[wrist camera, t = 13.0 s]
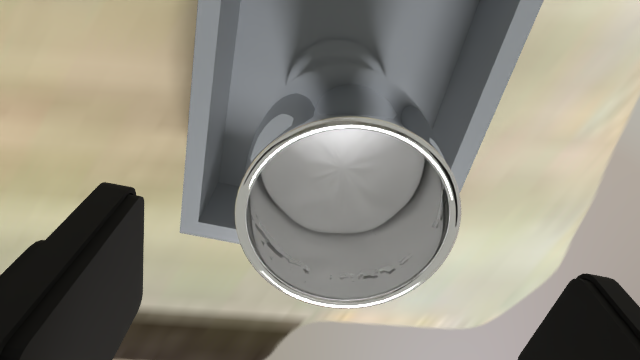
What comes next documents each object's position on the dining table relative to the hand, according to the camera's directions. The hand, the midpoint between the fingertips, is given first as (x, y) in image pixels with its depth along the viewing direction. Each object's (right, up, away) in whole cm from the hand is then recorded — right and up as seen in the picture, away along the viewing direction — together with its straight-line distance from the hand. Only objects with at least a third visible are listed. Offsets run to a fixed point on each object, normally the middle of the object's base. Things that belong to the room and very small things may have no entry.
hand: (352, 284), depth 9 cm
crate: (0, +8, +17) cm, 19 cm away
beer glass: (0, +8, +16) cm, 18 cm away
